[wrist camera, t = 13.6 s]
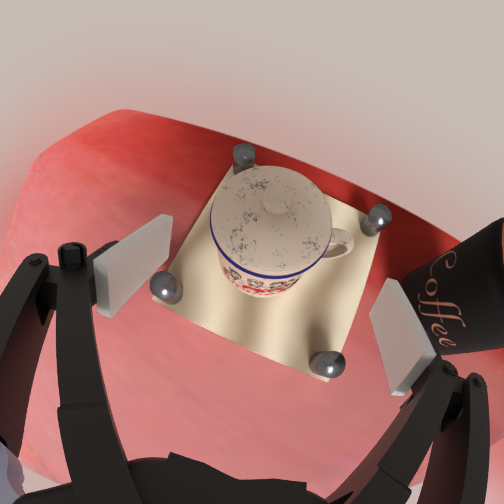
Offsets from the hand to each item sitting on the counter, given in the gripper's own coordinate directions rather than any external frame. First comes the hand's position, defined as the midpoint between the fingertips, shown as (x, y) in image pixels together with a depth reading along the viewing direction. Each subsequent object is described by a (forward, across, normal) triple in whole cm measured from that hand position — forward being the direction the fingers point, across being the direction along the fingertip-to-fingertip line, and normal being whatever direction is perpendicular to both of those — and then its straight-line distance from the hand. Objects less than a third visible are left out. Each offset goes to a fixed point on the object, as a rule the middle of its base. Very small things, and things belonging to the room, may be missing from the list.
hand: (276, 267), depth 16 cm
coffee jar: (+12, +20, -7) cm, 24 cm away
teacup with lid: (+12, 0, -5) cm, 13 cm away
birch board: (+13, +1, -6) cm, 14 cm away
